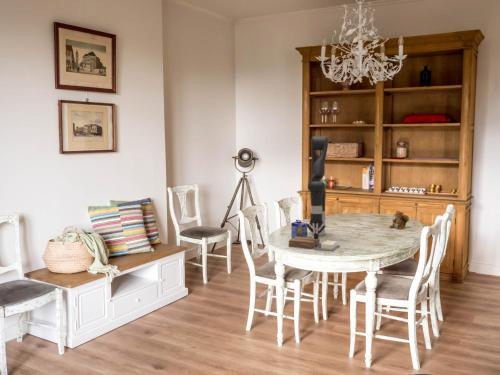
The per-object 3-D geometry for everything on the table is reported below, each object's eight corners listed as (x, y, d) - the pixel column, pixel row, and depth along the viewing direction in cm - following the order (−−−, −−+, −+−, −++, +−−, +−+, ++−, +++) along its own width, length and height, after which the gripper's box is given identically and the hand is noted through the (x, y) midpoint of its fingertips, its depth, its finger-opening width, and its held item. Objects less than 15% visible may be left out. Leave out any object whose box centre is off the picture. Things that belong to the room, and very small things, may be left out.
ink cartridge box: (290, 240, 335) (290, 219, 333) (295, 238, 339) (295, 218, 337) (303, 242, 329) (303, 220, 327) (307, 240, 333) (307, 219, 331)
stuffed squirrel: (388, 228, 373) (388, 210, 371) (400, 225, 381) (400, 208, 379) (399, 230, 365) (399, 212, 363) (411, 227, 373) (411, 210, 371)
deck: (296, 242, 329) (296, 236, 329) (319, 244, 322) (319, 238, 322) (288, 246, 317) (288, 240, 317) (312, 249, 310) (312, 242, 309)
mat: (320, 244, 323) (320, 243, 323) (339, 246, 317) (339, 245, 317) (312, 249, 309) (312, 248, 309) (333, 251, 304) (333, 250, 304)
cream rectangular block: (336, 241, 314) (336, 246, 315) (326, 240, 317) (326, 245, 318) (332, 244, 305) (331, 249, 306) (321, 243, 309) (321, 248, 309)
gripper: (328, 212, 314) (327, 238, 316) (308, 210, 320) (308, 236, 322) (324, 214, 307) (324, 241, 309) (304, 212, 313) (304, 239, 315)
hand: (316, 239), depth 316 cm, fingers closed
